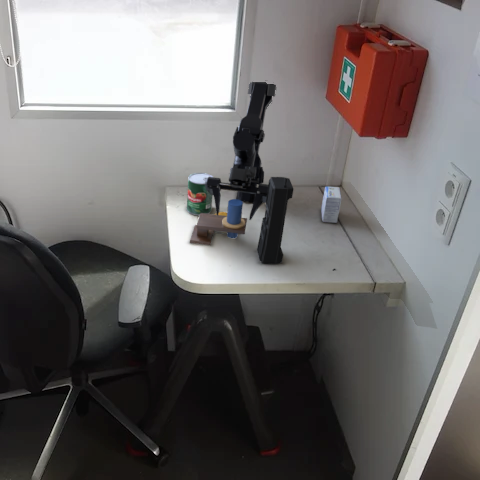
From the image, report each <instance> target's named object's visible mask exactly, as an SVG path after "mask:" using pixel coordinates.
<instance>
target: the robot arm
mask: <svg viewBox="0 0 480 480" xmlns="http://www.w3.org/2000/svg"><path fill="white" fill-rule="evenodd" d="M276 85H277V84H275V83H274V84H267V83H266V82H253V81H250V84H249V83H248V88H249V89H248V88H247V94H248V95H249V103H248V107H247V111H246V114H245V116H244V117H243V118H241V119H240V121H239V125H238V126H236V128H235V131H234V134H233V136H232V146H233V153H234V158H233V164H232V167H230V170H229V176H228V182H222V180H221V177H215V176H213V177H208V178H206V181H205V188H206V191H208V192H210V194H211V195H213V198H214V199H213V200H214V207H215V214H217V215H218V214H219V212H220V208H221V196H222V195H221V190H225V191H231V192H236V197H235V199H238V200H241V201H242V202H246V203H252V207H251V210H250V213H249V219H248V220H249V221H252V219H253V217H254V216H255V214H256V213H257V211H258V209H259V208H260V207H261V205H263V204H264V203H265V204H266V198H267V191H268V184H266V183H264V181H265V170H264V166H262V160H261V157H260V154H259V153H260V146H261V144H262V143H264V140H265V136H266V133H265V130H264V123H265V116H266V111H267V109H268V108H269V107H270V106H269V104H270V103H271V102H272V103H273V100H272V96H273V98H274V97H276V94H275V90H276V91H277V87H276ZM250 94H251V96H250ZM272 103H271V104H272ZM268 106H269V107H268ZM267 107H268V108H267Z"/></svg>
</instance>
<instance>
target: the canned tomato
mask: <svg viewBox="0 0 480 480" xmlns="http://www.w3.org/2000/svg"><path fill="white" fill-rule="evenodd" d="M208 177H214V176H213V175H211V174H209V173H205V172H194V173H191V174H190V175H188V177H187V179H188V180H187V197H186V211H187V213H189V214H190V215H193V216H200V213H206V214H211V212H212V206H213V197H214V195H211V194H210V192H208V191H206V188H205V181H206V178H208Z"/></svg>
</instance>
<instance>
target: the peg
mask: <svg viewBox="0 0 480 480" xmlns="http://www.w3.org/2000/svg"><path fill="white" fill-rule="evenodd" d="M243 202H244V201H241V200H238V199H236V198H233V199H229V200H228V202H227V217H225V218H223V220H222V224H223V225H224V226H226V227H228V228H232V229H238V228H242V227H243V226H244V225H245V221H244V219H242V218H243V217H242V215H243V205H244V203H243ZM238 235H239V234H238V233H230V232H227V233H226V236H227V238H229V239H236V238H238Z"/></svg>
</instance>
